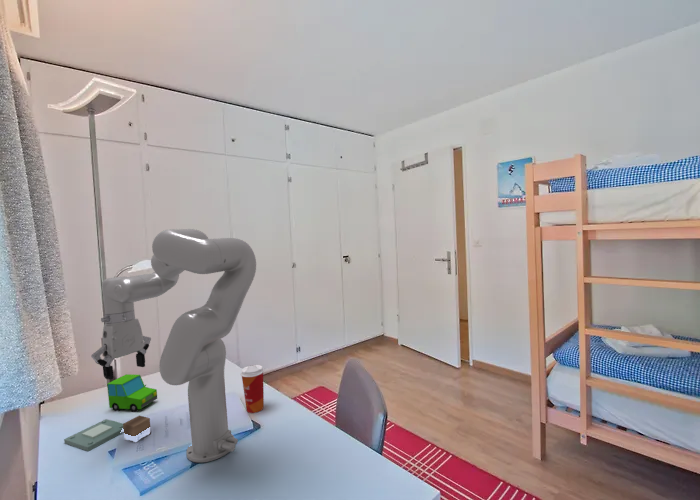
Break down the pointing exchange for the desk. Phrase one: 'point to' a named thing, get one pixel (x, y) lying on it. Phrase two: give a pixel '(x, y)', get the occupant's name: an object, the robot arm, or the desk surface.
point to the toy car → (130, 393)
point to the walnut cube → (136, 425)
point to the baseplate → (95, 435)
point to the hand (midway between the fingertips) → (125, 372)
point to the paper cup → (253, 388)
